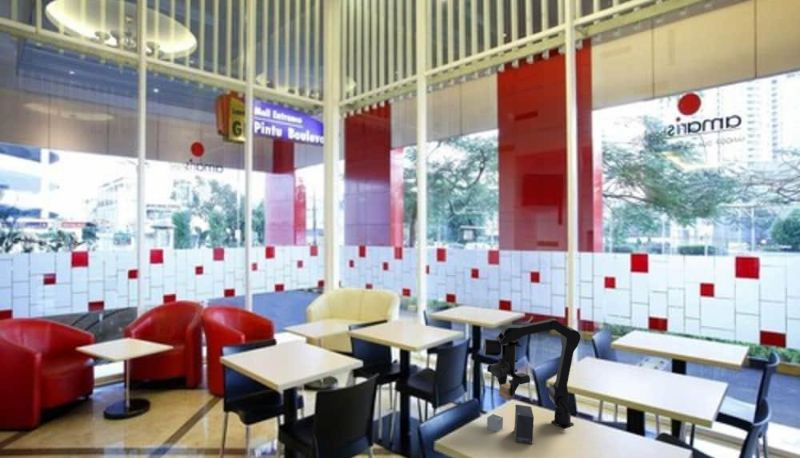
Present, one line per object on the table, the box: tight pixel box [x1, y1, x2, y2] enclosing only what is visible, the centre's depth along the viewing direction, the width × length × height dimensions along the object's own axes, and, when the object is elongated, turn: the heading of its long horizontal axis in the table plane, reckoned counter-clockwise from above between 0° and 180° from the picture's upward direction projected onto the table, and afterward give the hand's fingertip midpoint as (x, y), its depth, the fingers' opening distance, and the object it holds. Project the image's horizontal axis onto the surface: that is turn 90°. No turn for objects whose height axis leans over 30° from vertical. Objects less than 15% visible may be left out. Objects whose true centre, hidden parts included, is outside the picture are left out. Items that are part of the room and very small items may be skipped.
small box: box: [513, 404, 535, 445], centre depth 170 cm, size 11×6×10 cm, turn 169°
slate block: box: [486, 413, 504, 433], centre depth 176 cm, size 4×4×4 cm
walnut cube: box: [498, 382, 516, 400], centre depth 183 cm, size 4×4×4 cm
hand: (507, 394), depth 183 cm, fingers closed on walnut cube, 4 cm apart
